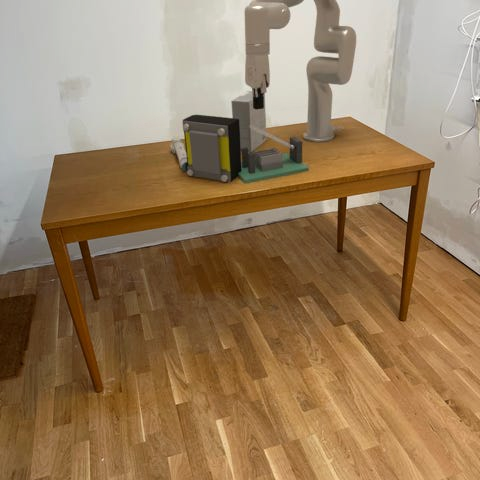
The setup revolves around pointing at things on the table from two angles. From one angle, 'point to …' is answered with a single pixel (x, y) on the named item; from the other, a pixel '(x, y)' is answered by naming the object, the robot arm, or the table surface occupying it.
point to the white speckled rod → (179, 152)
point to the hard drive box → (249, 121)
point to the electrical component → (212, 147)
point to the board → (273, 173)
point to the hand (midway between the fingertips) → (258, 108)
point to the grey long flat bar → (272, 137)
